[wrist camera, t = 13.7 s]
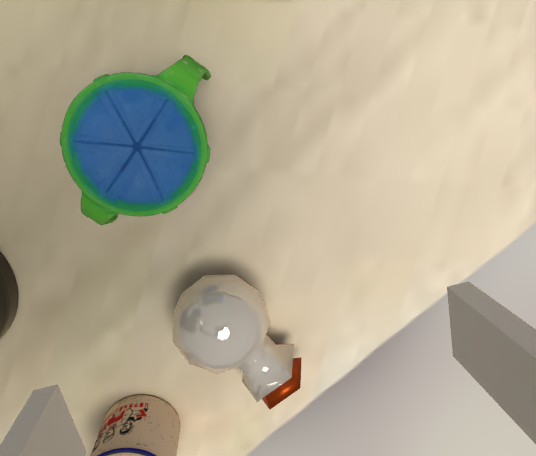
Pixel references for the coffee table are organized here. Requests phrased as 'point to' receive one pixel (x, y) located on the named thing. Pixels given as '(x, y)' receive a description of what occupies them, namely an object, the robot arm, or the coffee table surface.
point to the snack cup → (136, 142)
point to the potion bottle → (234, 336)
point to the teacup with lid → (139, 429)
